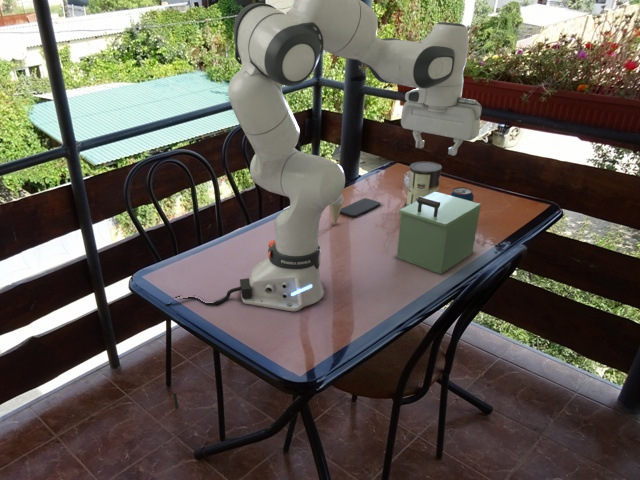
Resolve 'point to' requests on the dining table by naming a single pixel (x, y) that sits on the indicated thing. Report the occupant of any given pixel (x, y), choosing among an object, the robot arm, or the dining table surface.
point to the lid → (440, 208)
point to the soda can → (463, 193)
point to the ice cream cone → (336, 208)
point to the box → (436, 241)
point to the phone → (359, 207)
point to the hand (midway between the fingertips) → (435, 151)
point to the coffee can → (423, 180)
